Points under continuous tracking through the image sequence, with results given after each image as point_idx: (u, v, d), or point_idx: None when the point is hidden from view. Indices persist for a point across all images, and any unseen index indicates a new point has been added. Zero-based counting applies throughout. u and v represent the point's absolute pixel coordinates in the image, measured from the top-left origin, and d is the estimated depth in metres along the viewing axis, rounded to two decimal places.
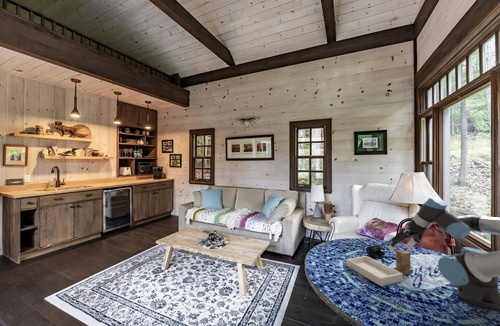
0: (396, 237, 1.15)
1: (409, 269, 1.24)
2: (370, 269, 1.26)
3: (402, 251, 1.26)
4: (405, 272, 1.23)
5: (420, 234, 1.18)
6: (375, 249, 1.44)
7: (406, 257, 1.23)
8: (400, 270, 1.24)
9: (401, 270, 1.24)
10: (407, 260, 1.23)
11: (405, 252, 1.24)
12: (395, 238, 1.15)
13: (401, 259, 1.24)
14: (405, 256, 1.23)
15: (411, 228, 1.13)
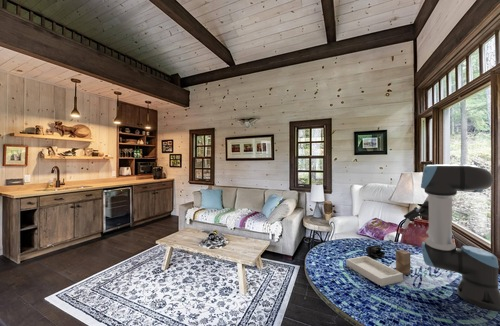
0: None
1: (409, 269, 1.24)
2: (370, 269, 1.26)
3: (401, 251, 1.26)
4: (405, 272, 1.23)
5: None
6: (375, 249, 1.44)
7: (406, 257, 1.23)
8: (400, 270, 1.24)
9: (401, 270, 1.24)
10: (407, 260, 1.23)
11: (405, 252, 1.24)
12: None
13: (401, 259, 1.24)
14: (405, 256, 1.23)
15: None
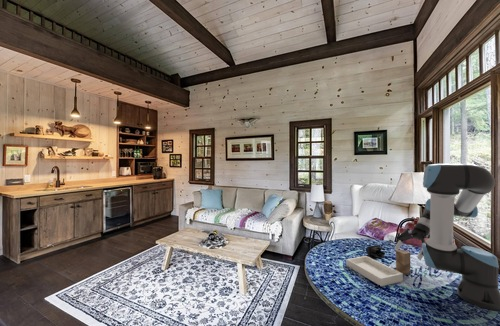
0: None
1: (409, 269, 1.24)
2: (370, 269, 1.26)
3: (401, 251, 1.26)
4: (405, 272, 1.23)
5: None
6: (375, 249, 1.44)
7: (406, 257, 1.23)
8: (400, 270, 1.24)
9: (401, 270, 1.24)
10: (407, 260, 1.23)
11: (405, 252, 1.24)
12: None
13: (401, 259, 1.24)
14: (405, 256, 1.23)
15: None
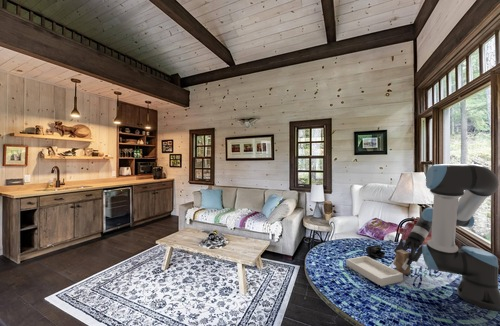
0: None
1: (409, 269, 1.24)
2: (370, 269, 1.26)
3: (401, 251, 1.26)
4: (405, 272, 1.23)
5: None
6: (375, 249, 1.44)
7: (406, 257, 1.23)
8: (400, 270, 1.24)
9: (401, 270, 1.24)
10: None
11: (405, 252, 1.24)
12: None
13: (401, 259, 1.24)
14: (405, 256, 1.23)
15: None
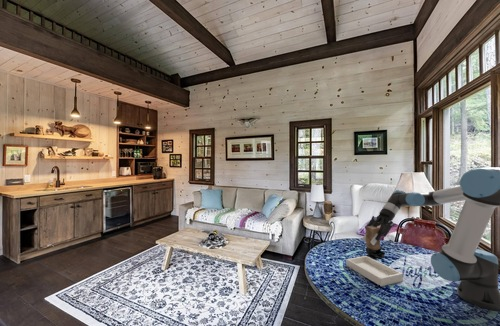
0: None
1: (378, 245, 1.23)
2: (370, 269, 1.26)
3: (371, 227, 1.26)
4: (374, 247, 1.22)
5: None
6: None
7: (376, 232, 1.23)
8: (369, 246, 1.24)
9: (370, 246, 1.23)
10: None
11: (374, 228, 1.24)
12: None
13: (370, 235, 1.24)
14: (375, 231, 1.22)
15: None
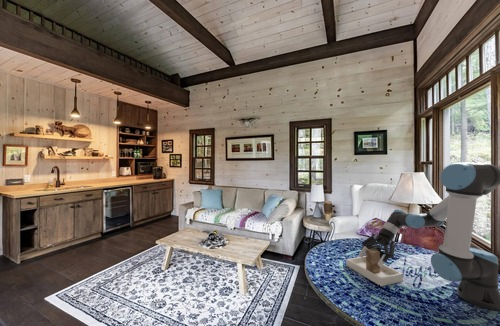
0: None
1: (378, 268, 1.23)
2: None
3: (371, 250, 1.25)
4: (374, 271, 1.22)
5: None
6: (375, 249, 1.44)
7: (376, 256, 1.22)
8: (370, 269, 1.23)
9: (370, 269, 1.23)
10: (376, 259, 1.22)
11: (374, 251, 1.23)
12: None
13: (370, 259, 1.23)
14: (375, 255, 1.22)
15: None
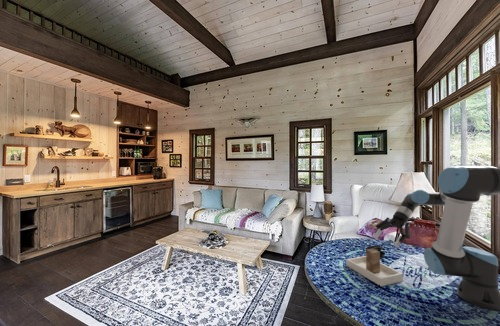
0: None
1: (378, 268, 1.23)
2: None
3: (371, 250, 1.25)
4: (374, 271, 1.22)
5: None
6: (375, 249, 1.43)
7: (376, 256, 1.22)
8: (370, 269, 1.23)
9: (370, 269, 1.23)
10: (376, 259, 1.22)
11: (374, 251, 1.23)
12: None
13: (370, 259, 1.23)
14: (375, 255, 1.22)
15: None
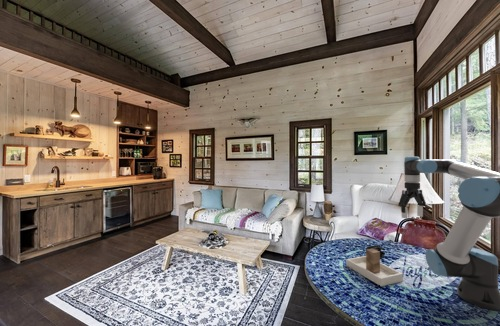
0: (401, 200, 1.26)
1: (378, 268, 1.23)
2: None
3: (371, 250, 1.25)
4: (374, 271, 1.22)
5: (420, 196, 1.30)
6: (375, 249, 1.44)
7: (376, 256, 1.22)
8: (370, 269, 1.23)
9: (370, 269, 1.23)
10: (376, 259, 1.22)
11: (374, 251, 1.23)
12: (401, 201, 1.25)
13: (370, 259, 1.23)
14: (375, 255, 1.22)
15: (408, 188, 1.27)
